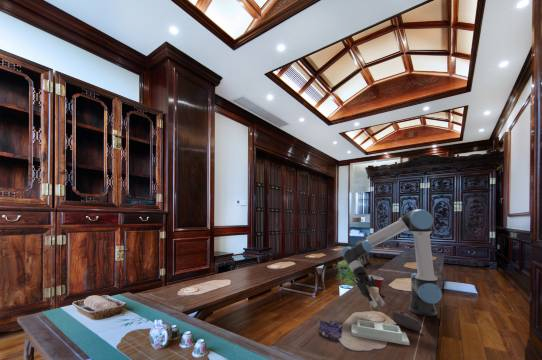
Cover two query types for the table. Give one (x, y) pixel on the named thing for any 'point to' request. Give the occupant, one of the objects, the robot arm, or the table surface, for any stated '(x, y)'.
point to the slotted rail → (379, 332)
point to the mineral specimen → (330, 329)
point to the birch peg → (375, 293)
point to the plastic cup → (377, 281)
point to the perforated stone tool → (406, 321)
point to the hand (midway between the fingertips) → (379, 305)
